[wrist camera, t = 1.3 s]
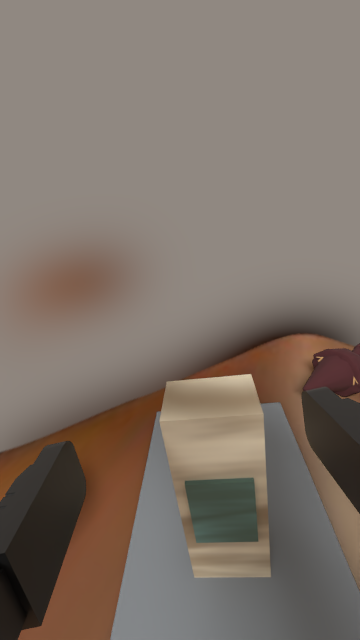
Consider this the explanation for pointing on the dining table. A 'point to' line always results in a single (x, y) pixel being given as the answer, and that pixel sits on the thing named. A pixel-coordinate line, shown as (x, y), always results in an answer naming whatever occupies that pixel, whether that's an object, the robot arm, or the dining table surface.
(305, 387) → the maroon rounded piece
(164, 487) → the mat
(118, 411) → the dining table surface
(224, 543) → the birch block
